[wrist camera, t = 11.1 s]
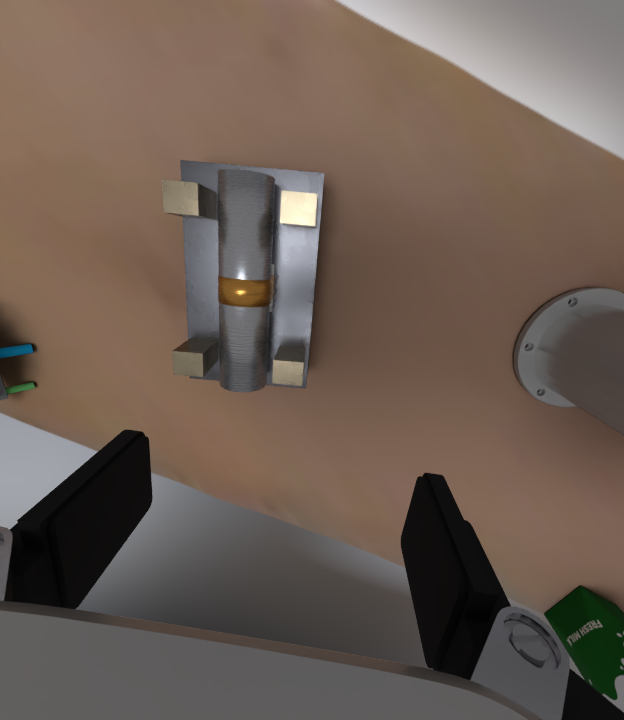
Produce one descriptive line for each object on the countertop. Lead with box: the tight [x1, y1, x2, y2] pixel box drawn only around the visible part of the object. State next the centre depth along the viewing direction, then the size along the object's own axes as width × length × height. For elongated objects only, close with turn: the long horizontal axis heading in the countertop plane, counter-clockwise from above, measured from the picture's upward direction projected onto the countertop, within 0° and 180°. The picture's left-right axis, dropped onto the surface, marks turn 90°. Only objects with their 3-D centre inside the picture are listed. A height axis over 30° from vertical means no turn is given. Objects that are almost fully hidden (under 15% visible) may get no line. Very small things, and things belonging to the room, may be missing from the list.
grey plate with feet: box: [162, 160, 324, 388], centre depth 28 cm, size 11×18×9 cm, turn 175°
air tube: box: [218, 169, 275, 392], centre depth 26 cm, size 16×4×4 cm, turn 175°
